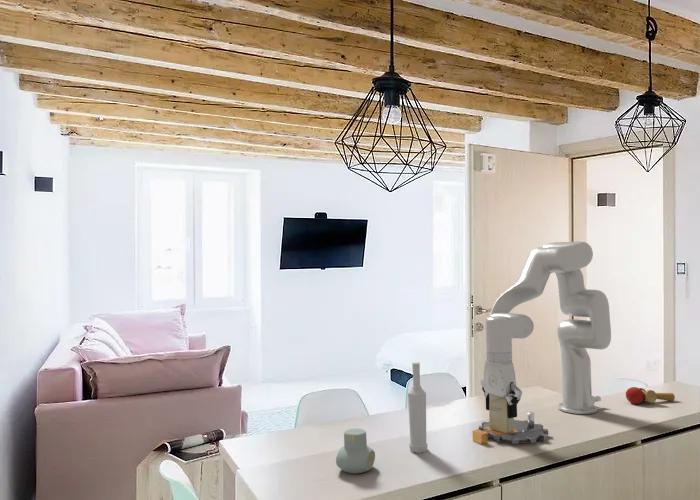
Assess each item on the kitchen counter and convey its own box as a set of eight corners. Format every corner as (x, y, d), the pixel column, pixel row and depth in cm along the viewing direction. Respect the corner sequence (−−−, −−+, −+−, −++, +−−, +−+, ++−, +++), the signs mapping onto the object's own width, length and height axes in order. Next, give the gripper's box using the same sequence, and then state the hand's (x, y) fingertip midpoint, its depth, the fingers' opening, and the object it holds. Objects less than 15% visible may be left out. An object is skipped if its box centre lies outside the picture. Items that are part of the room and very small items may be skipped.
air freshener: (349, 460, 152) (348, 424, 152) (377, 464, 149) (376, 426, 149) (333, 475, 142) (332, 436, 142) (363, 479, 139) (362, 439, 139)
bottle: (427, 447, 161) (424, 361, 161) (428, 453, 156) (425, 364, 156) (409, 446, 161) (406, 361, 162) (409, 453, 156) (406, 364, 156)
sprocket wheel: (522, 419, 182) (521, 403, 182) (563, 438, 162) (562, 420, 162) (466, 426, 176) (466, 410, 176) (502, 447, 156) (501, 428, 157)
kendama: (662, 401, 207) (618, 397, 204) (665, 385, 206) (622, 381, 203) (677, 410, 199) (632, 407, 196) (681, 394, 198) (636, 390, 195)
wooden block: (513, 430, 174) (513, 420, 174) (530, 436, 168) (529, 426, 168) (469, 439, 166) (469, 429, 166) (484, 446, 160) (484, 435, 160)
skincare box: (489, 429, 168) (487, 389, 168) (496, 425, 172) (495, 386, 172) (508, 433, 164) (506, 392, 164) (515, 429, 167) (514, 389, 167)
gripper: (471, 354, 174) (473, 408, 174) (509, 363, 159) (511, 422, 158) (490, 351, 177) (492, 405, 177) (529, 360, 162) (531, 418, 162)
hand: (501, 413), depth 168 cm, fingers open, 9 cm apart
